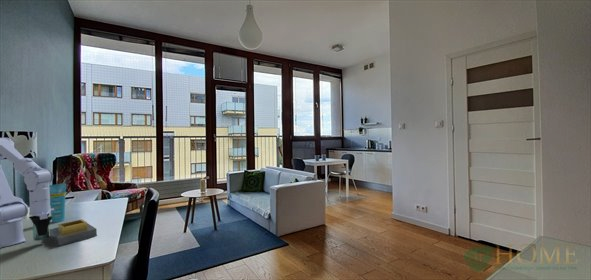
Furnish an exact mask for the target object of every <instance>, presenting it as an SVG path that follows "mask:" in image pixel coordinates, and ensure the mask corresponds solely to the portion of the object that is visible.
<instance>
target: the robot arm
mask: <svg viewBox="0 0 591 280" xmlns="http://www.w3.org/2000/svg"><path fill="white" fill-rule="evenodd" d="M3 159H7V160H8V161H9V162H11V163H12V164H13V169H14V170H15V171H17V173H19V174H20V175H21V176H23V182H24V184H25V185H26V189H27V191H28V194H29V197H28V200H29V206H28V204H26V203H25V201H24V200H23V198H21V197H18V196H14V194H13V192H12V189H11V187H10V184H9V181H8V180H7V177H6V175H5V172H4V170H3V167H2V165H1V164H0V248H5V247H10V246H13V245H17V244H22V243H25V242H27V240H26V238H25V236H24V228H23V227H24V225H23V221H24V219H25V217H26V216H27V215H29V217H28V218H29V219H30V220H31V222H32V223H33V224H35V226H36V229H37V233H38V235H39V236H42V235H46V234H47V230H48V225H50V223H51V222H52V216H51V215H50V214H51V211H54V208H53V209H51V207H50V190H49V185H50V183H51V182H52V181H53V179H54V174H53V172H52V171H51V170H50V169H48V168H42V167H41V166H40V165H38V164H37V163H36V162H35V161H34V160H33V159H32V158H29V157H24V156H23V155H22V154H21V153H20V152H19V151H18V150H17V148H15V143H14V141H12V139H11V138H9V137H0V161H3ZM33 224H32V225H33Z"/></svg>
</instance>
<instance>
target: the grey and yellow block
mask: <svg viewBox="0 0 591 280" xmlns="http://www.w3.org/2000/svg"><path fill="white" fill-rule="evenodd" d="M97 235H98V233H97V228H96V227H95V226H93V225H91V224H90V223H88V221H85V220H84V219H82V218H81V219H77V220H73V221H68V222H63V223H57V227H54V228H49V237H50V239H52V241H54V243H55V244H56V245H57V246H58V247H60V246H64V245H68V244H73V243H75V242H79V241H83V240H86V239H91V238H94V237H97Z"/></svg>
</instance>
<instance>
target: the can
mask: <svg viewBox="0 0 591 280" xmlns="http://www.w3.org/2000/svg"><path fill="white" fill-rule="evenodd" d="M49 225H50V224H49ZM49 225H48V230H47V234H46V235H42V236H39V235H38V233H37V229H36V226H35V224H32V232H33V233H32V234H33V237H32V238H33V241H41V240H46V239H48V238H49V237H50V232H49V229H50V226H49Z"/></svg>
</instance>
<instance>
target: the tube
mask: <svg viewBox="0 0 591 280" xmlns="http://www.w3.org/2000/svg"><path fill="white" fill-rule="evenodd" d="M49 190H50V209H53V208H54V211H51V212H50V216H52V219H51V223H60V222H64V221H65V220H66V217H65V216H66V190H67V183H57V184H49Z"/></svg>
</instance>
